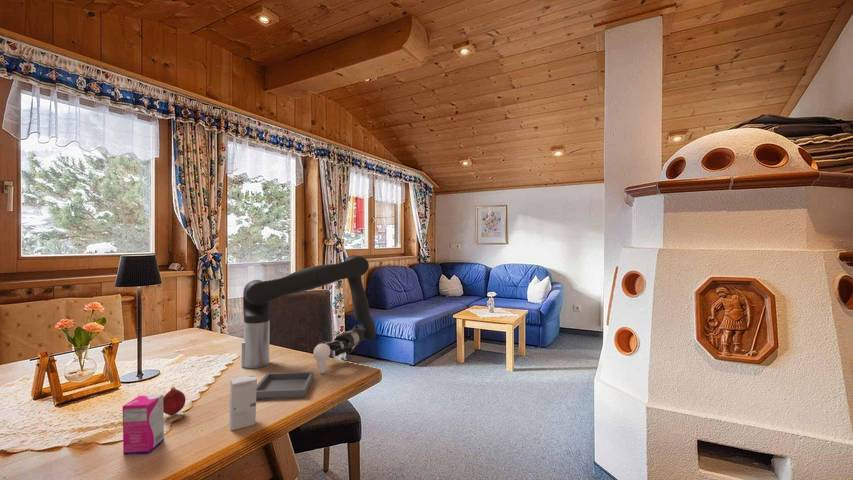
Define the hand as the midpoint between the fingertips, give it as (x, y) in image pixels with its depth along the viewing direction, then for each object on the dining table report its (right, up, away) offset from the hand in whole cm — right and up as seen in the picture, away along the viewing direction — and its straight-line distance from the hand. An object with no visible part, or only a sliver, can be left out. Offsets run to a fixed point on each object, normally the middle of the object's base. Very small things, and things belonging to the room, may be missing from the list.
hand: (325, 352), depth 137 cm
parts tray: (-9, -7, -17) cm, 20 cm away
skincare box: (-11, -7, -40) cm, 42 cm away
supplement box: (-29, -7, -51) cm, 59 cm away
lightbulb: (-1, -7, -2) cm, 8 cm away
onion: (-33, -7, -36) cm, 49 cm away
